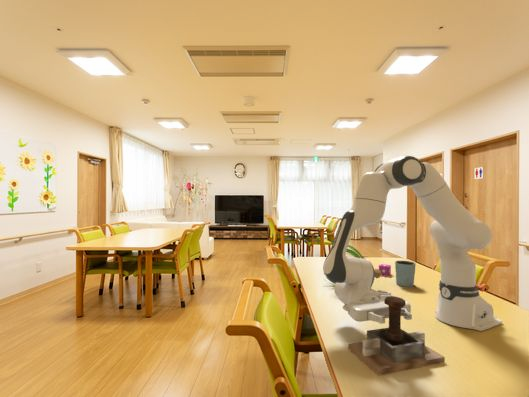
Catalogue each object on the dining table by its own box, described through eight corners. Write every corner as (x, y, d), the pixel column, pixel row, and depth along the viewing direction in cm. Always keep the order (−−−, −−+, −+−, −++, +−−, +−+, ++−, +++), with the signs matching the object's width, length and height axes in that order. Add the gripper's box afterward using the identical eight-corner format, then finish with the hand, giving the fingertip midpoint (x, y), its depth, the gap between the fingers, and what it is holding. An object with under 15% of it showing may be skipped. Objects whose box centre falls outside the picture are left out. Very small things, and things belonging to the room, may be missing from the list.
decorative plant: (384, 304, 142) (321, 298, 146) (373, 280, 166) (320, 276, 171) (390, 254, 137) (324, 250, 141) (378, 237, 161) (322, 233, 165)
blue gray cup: (405, 281, 164) (405, 260, 164) (420, 286, 154) (420, 263, 155) (390, 282, 161) (390, 261, 161) (404, 288, 151) (405, 265, 151)
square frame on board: (407, 339, 96) (407, 322, 96) (444, 362, 82) (444, 342, 82) (348, 348, 89) (348, 330, 89) (378, 375, 76) (378, 354, 76)
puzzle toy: (381, 273, 183) (381, 263, 183) (390, 274, 180) (390, 265, 180) (378, 274, 178) (378, 265, 178) (388, 276, 175) (388, 266, 175)
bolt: (388, 343, 90) (389, 294, 90) (406, 349, 86) (406, 298, 86) (382, 351, 85) (382, 299, 85) (400, 357, 82) (401, 303, 82)
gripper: (339, 296, 95) (366, 312, 82) (392, 290, 101) (424, 304, 88) (339, 315, 95) (366, 334, 82) (391, 309, 101) (424, 325, 88)
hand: (396, 319), depth 85 cm, fingers open, 8 cm apart
